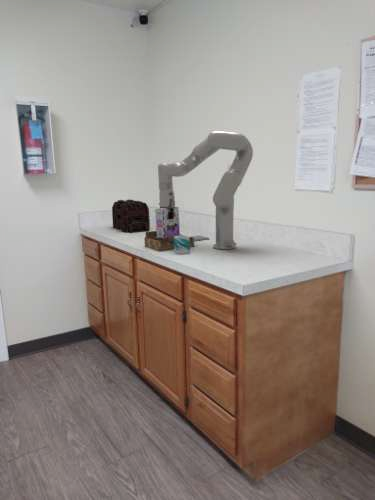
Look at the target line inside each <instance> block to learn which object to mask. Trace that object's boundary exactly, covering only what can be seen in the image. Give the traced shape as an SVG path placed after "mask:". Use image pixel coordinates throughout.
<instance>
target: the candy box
mask: <svg viewBox="0 0 375 500" xmlns="http://www.w3.org/2000/svg"><path fill="white" fill-rule="evenodd" d="M179 210H180V208H179V206H175V207H174V219H168V212H169V211H168V208H167V207H166V208H160V207H158V208H155V210H154V212H155V229H156V230H155V231H156V234H157V238H161V239H166V238H167V236H175V235H180V216H179V215H180V214H179Z"/></svg>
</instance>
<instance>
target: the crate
mask: <svg viewBox="0 0 375 500" xmlns="http://www.w3.org/2000/svg"><path fill="white" fill-rule="evenodd" d="M111 213H112V215H111V216H112V218H111V219H112V228H113V229H116V230H118V231H119V230H120V231H121V232H123V233H126V234H128V233H129V234H134V233H135V234H136V233H146V232H151V231H150V230H151V225H150V221H151V220H150V208H149V205H148V204H147V203H146V202H143V201H140V200H134V199H126V200H125V199H124V200H123V199H118V200H117V201H114V202H113V204H112V207H111Z"/></svg>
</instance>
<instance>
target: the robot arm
mask: <svg viewBox="0 0 375 500" xmlns="http://www.w3.org/2000/svg"><path fill="white" fill-rule="evenodd" d="M219 150H228V151H233V152H234V151H235V152H236V153H235V157H234V158H233V161H232V163H231V165H230V168H229V169H228V170H227V171H225V172H224V173H223V175H222V177H221V179H220V181H219V182H218V185H217V187H216V189H215V191H214V193H213V196H212V202H213V204H214V206H215V244H214V243H213V245H212V248H214V249H216V250H217V249H218V250H233V249H236V248H237V243H236V242H235V239H234V210H235V209H234V208H235V195H236V192H237V191H238V188H239V187H240V186H241V185H242V183H243V179H244V178H245V175H246V174H247V171H248V169H249V167H250V164H251V162H252V159H253V155H254V151H253V150H254V149H253V146H252V144H251V142H250V140H249V139H248V138H247V136H245V135H244V134H242V133H238V132H229V131H222V130H213V131H211V132H209V133H208V135H207V137H206V138H205V139H204V140H203V141H201V142H200V143H199V144H197V145H196V146H195V147H193V149H192V151H191V153H190V154H189V155H188V156H187V157H185V158H184V159H182V160H181V161H180V162H179V161H177V162H171V163H168V162H167V163H166V162H165V163H164V162H163V163H159V164H158V165H157V171H158V172H157V173H158V174H157V175H158V177H157V178H158V190H159V202H158V205H159V208H166V207H167V208H168V211H169V212H168V219H174V207H176V201H175V199H176V198H175V192H174V186H173V185H174V183H173V177H184V176H186V175H187V174H189V173H190V172H191V171H194V170H195V169H196V168H197V167H198V166H199V165H200V164H202V163H203V162H204V161H206V160H207V159H208V158H210V157H211V156H212V155H214V154H216V152H218V151H219Z"/></svg>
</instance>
